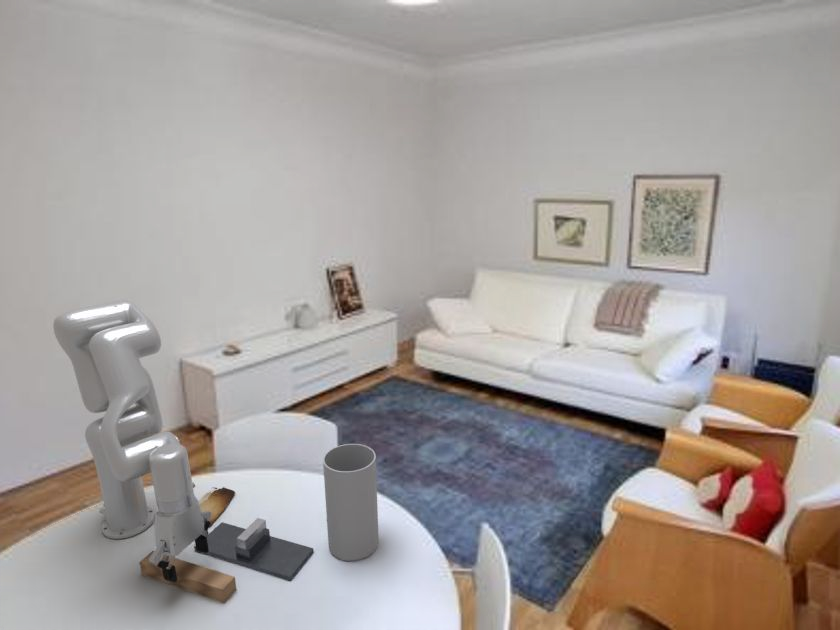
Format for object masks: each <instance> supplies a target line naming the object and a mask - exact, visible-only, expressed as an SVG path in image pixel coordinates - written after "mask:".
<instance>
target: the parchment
mask: <svg viewBox="0 0 840 630" xmlns="http://www.w3.org/2000/svg"><path fill="white" fill-rule="evenodd" d="M212 489H214V490H213V491H211V492H212V493H211V492H207V493H205V494H204V495H203V496H202V497H201V498H200V499H199V500H198V502H199V505H200V508H201V511H202V512H203V511H209V512H211V519H210V526H209V528H210V527H211V526H212V525H213V523H214V522H215V521H216V519H217V518H219V516H221V514H222V513H223V512H224V511H225V510H226V508H227V507H228V505H229V503H230V501H232V499H233V498H234V496H235V495H236V491H234V490H233V489H230V488H226V487H224V486H222V487H221V488H218V487H212Z"/></svg>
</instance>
